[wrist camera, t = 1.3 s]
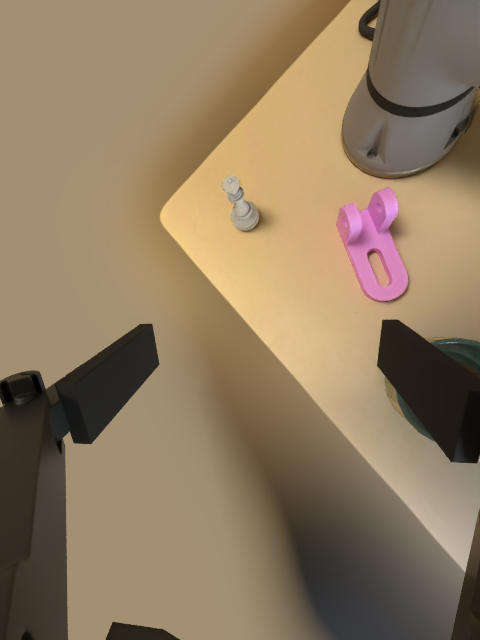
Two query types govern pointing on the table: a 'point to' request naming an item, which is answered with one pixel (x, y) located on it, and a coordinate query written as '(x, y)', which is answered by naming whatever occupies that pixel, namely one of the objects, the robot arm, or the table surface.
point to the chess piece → (240, 205)
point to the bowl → (455, 348)
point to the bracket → (373, 244)
